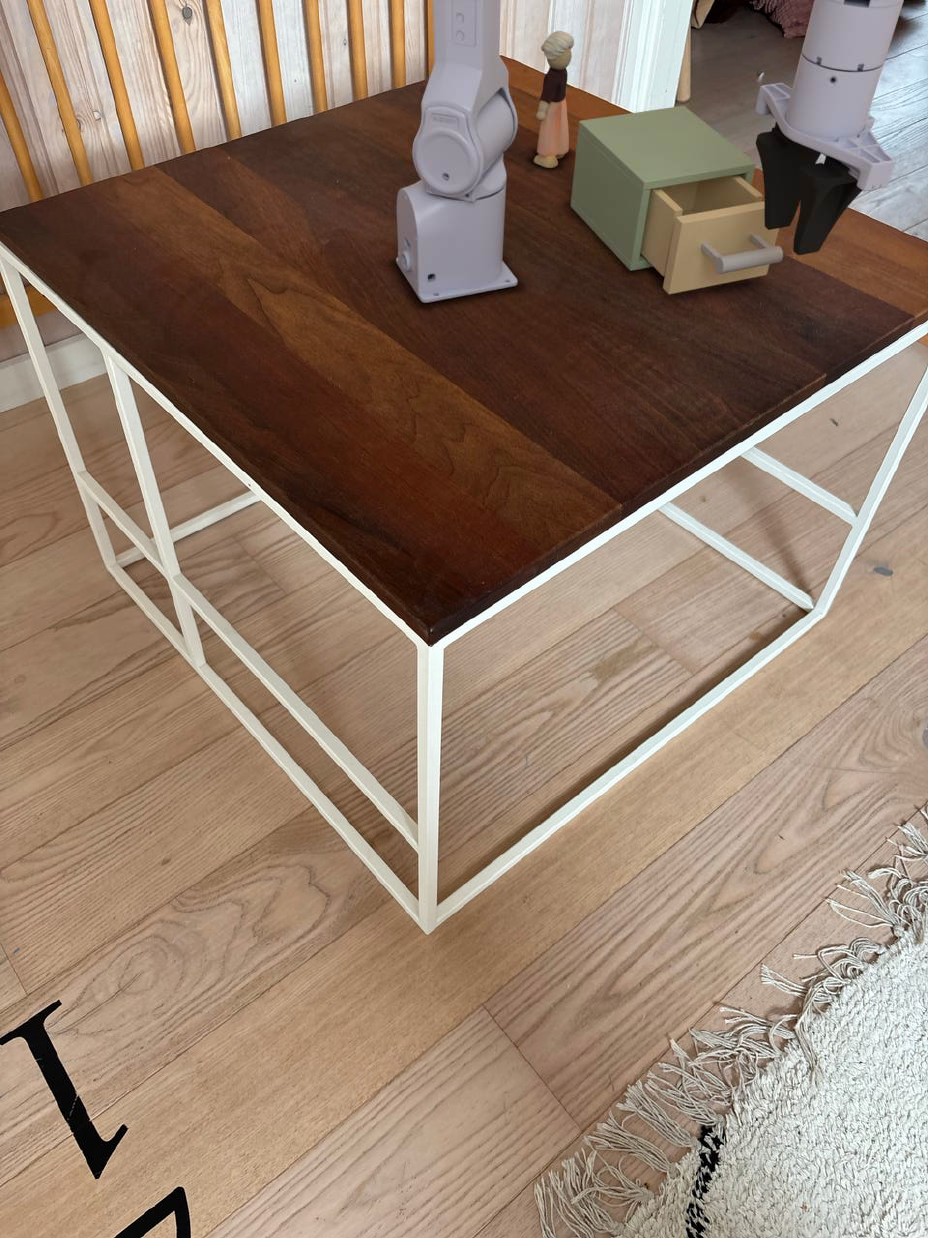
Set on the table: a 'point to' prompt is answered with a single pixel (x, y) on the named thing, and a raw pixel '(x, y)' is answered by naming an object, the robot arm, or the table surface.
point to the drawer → (708, 233)
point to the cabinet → (643, 170)
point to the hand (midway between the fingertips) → (791, 238)
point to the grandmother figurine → (554, 101)
